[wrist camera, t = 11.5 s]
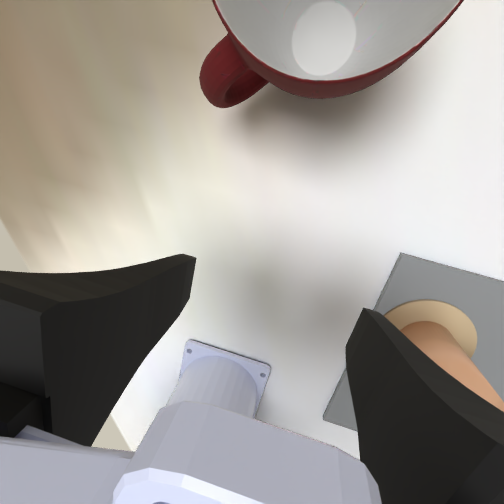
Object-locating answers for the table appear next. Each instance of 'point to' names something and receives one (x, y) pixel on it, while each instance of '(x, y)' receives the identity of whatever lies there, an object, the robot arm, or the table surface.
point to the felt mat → (450, 291)
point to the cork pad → (436, 320)
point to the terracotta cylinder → (451, 358)
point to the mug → (315, 45)
